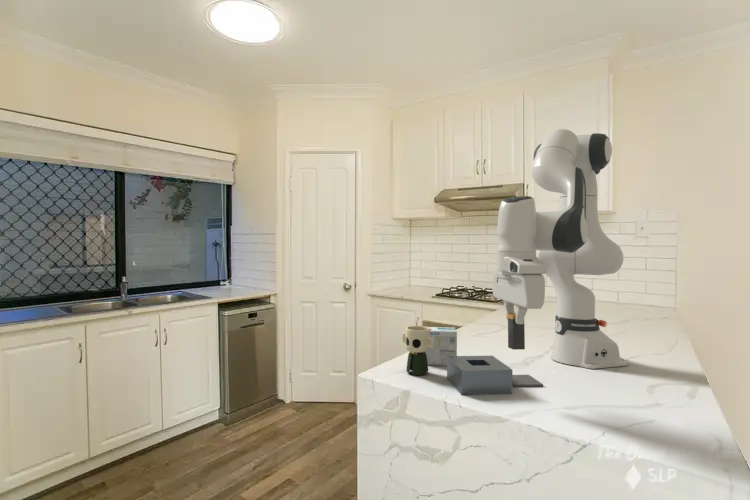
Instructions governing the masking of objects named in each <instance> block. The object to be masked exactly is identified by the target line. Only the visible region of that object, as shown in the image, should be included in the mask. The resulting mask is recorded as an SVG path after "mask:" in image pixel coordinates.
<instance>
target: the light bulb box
mask: <svg viewBox="0 0 750 500" xmlns="http://www.w3.org/2000/svg"><path fill="white" fill-rule="evenodd" d="M428 327H429V328H430V336H431V337H433V338H434V348H430V349H429V351H426V352H425V353H426V355H427V363H428V366H445V367H447V356H458V333H457V332H458V331H457V329H456V327H449V326H447V327H446V326H445V327H444V326H441V327H440V326H428ZM430 345H431V340H430Z"/></svg>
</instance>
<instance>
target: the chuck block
mask: <svg viewBox="0 0 750 500" xmlns="http://www.w3.org/2000/svg"><path fill="white" fill-rule="evenodd" d="M512 375H513V369H512V368H511V367H510V366H508V365H506V364H505V363H503V362H502V361H501V360H500V359H498V358H496V357H495V356H494V355H457V356H447V366H446V378H447V379H448V381H449V382H450V383H451V385H453V386H454V388H455V389H456V390H457V392H458V393H459V394H460V395H462V396H464V395H467V396H469V395H508V394H509V395H510V394H511V395H512V394H513V386H512Z"/></svg>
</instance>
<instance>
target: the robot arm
mask: <svg viewBox="0 0 750 500" xmlns="http://www.w3.org/2000/svg"><path fill="white" fill-rule="evenodd" d="M612 146H613V145H612V142H611V140H610V138H609V137H608V136H607V135H606V134H605V133H598V132H593V133H592V134H579V135H576V134H575V132H573V131H572V130H569V129H566V128H559V129H555V130H553V131H551V132H550V133H549V134H548V135H547V136H546V137H545V138H544V140H543V141H542V143H540V144H538V145H537V147H536V148H535V149H534V151H533V162H532V166H531V176H532V179H533V181H534V183H536V184H537V185H538V187H540V188H541V189H544V190H546V191H548V192H553V193H558V194H559V199H558V200H559V202H558V203H559V208H558V210H555V211H537V210H536V202H535V198H534V197H532V196H530V195H529V196H527V195H523V196H519V195H518V196H511V197H505V198H504V199H503V200H502V199H501V200H502V201H501V202H500V204H499V205H500V206H499V210H498V216H497V231H496V232H497V233H496V234H497V238H498V245H497V248H496V269H495V271H494V273H493V280H492V294H493V295H492V296H493V297H494V298H496V299H499V300H500V301H501V300H502V301H503V304H504V305H503V307H504V309H505V313H506V315H505V316H506V320H508V314H516V316H514V322H515V323H517V324H524V325H525V317H526V315H527V312H528V309H529V310H530V309H531V310H535V309H536V310H537V309H538V310H539V309H542V308H543V306H544V303H545V298H546V297H545V296H546V295H545V294H546V292H545V291H546V279H545V276H544V275H546V276H547V277H548V278H549V280H550V281H551V284H552V285H553V286H554V291H555V294H556V295H555V296H556V297H555V298H556V315H555V318H554V319H555V321H554V330H555V339H554V344H553V348H552V351H551V354H550V359H551V360H553V361H555V362H558V363H562V364H566V365H569V366H570V365H571V366H575V367H581V368H586V369H590V370H591V369H592V370H593V369H594V370H595V369H605V368H615V367H616V368H618V367H626V366H629V361H628V360H626V359H625V358H623V357H621V355H620V349H619V346H618V344H617V343H616V342H615V341H614V340H613V339H611V338H610V337H609V336H608V335H607V334H605V333H604V332H603V331H602V330H601V328H600V327H602V328H606V327H607V325H608V322H607V321H606V320H603V319H597V318H596V317H595V316H596V296H595V294H594V292H593V291H592V290H591V289H590V288H589V287H587V286H584V285H582V284H581V283H578V281H576V279H575V275H585V276H587V275H588V276H605V275H611V274H613V275H614V274H616V273H617V272H619V270H621V267H622V265H624V252H623V251H622V248H621V246H620V245H618V244H617V243H616V242H615V241H613V240H611V239H610V238H609V237H608V236H607V234H605V232H604V231H603V229H602V227H601V224H600V222H599V213H598V211H599V210H598V182H597V181H598V180H597V175H598V174H600V172H601V170H603V169H605V167H606V166H607V165H608V164H609V163H610V161H611V158H612V155H613V147H612ZM514 306H515V307H514ZM515 309H516V312H515Z"/></svg>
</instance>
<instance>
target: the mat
mask: <svg viewBox="0 0 750 500" xmlns="http://www.w3.org/2000/svg"><path fill="white" fill-rule="evenodd" d="M531 387H532V388H534V387H537V388H539V387H540V388H541V387H544V383H542V382H540V381H539V380H537V379H536V378H534V377H533V376H531V375H530V374H512V388H531Z"/></svg>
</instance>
